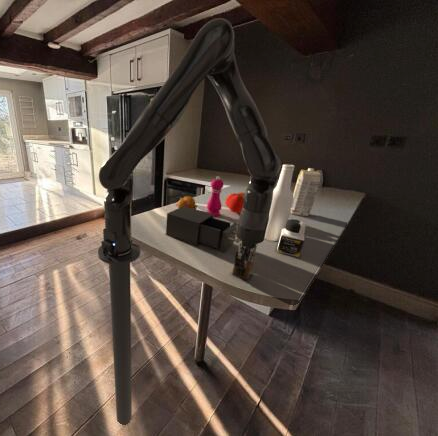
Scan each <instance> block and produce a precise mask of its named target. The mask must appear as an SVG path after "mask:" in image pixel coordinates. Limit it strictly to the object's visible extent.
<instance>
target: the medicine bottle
mask: <svg viewBox="0 0 438 436" xmlns="http://www.w3.org/2000/svg"><path fill="white" fill-rule="evenodd" d="M306 227H307V224H306V223H305V222H304V221H302V220H299V219H293V218H291V219H288V220H287V222H286V225H285V229H284V228H283V229H282V232H281V236H280V240H279V241H278V244H277V249H276V252H277V253H281V254H284V255H285V254H286V255H288V256H293V257H297V258H299V257H300V256H301V252H302V249H303V247H304V243H305V230H306Z"/></svg>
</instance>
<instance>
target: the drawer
mask: <svg viewBox="0 0 438 436" xmlns="http://www.w3.org/2000/svg"><path fill="white" fill-rule="evenodd" d="M238 223H239V222H234V223H233V224H232V222H229V221H226V220H223V219H219V218H215V217H214V218H212V217H211V218H210V219H208V220H206V221H205V222H203V223H202V224H200V228H199V237H198V242H200V244H203V245H206V246H209V247H211V248H215V249H219V252H220V253H224V252H225V251H227V249H228V248H230V247H231V246H232V245H233V243H236V244H240V243H241V242H242V241H241V240H240V239H239V238H238V237H237V235H236V234H237V228H238Z"/></svg>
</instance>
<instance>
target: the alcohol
mask: <svg viewBox="0 0 438 436" xmlns="http://www.w3.org/2000/svg"><path fill="white" fill-rule="evenodd" d="M281 167H282V168H281V170H280V173H279V176H278V177H279V178H278V179H277V182H276V185H275V187H274V191H273V199H272V204H271V208H270V212H269V221H268V225H267V229H266V233H265V237H264V240H267V241H271V242H279V240H280V236H281V232H282V229H283V228H284V229H285V225H286V222H287V220H289V217H290V214H291V207H292V203H293V194H294V193H293V192H292V190H291V189H292V188H291V186H292V180H293V175H294V171H295V168H296V167H295V165H294V164H286V163H285V164H282V166H281Z"/></svg>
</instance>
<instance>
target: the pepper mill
mask: <svg viewBox="0 0 438 436" xmlns="http://www.w3.org/2000/svg"><path fill="white" fill-rule="evenodd" d="M210 187H211V189H210V192H211V196H210V198H209V200H208V201H207V204H206V209H207V211H206V212H208V213H211V214H214V217H219V216H220V214H221V213H220V210H222V201H221V198H220V196H221V193H222V189H223V187H224V181H223V180H222V179H221V177H220V176H219V175H218V176H216V177H215V179H213V180H211V182H210Z"/></svg>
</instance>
